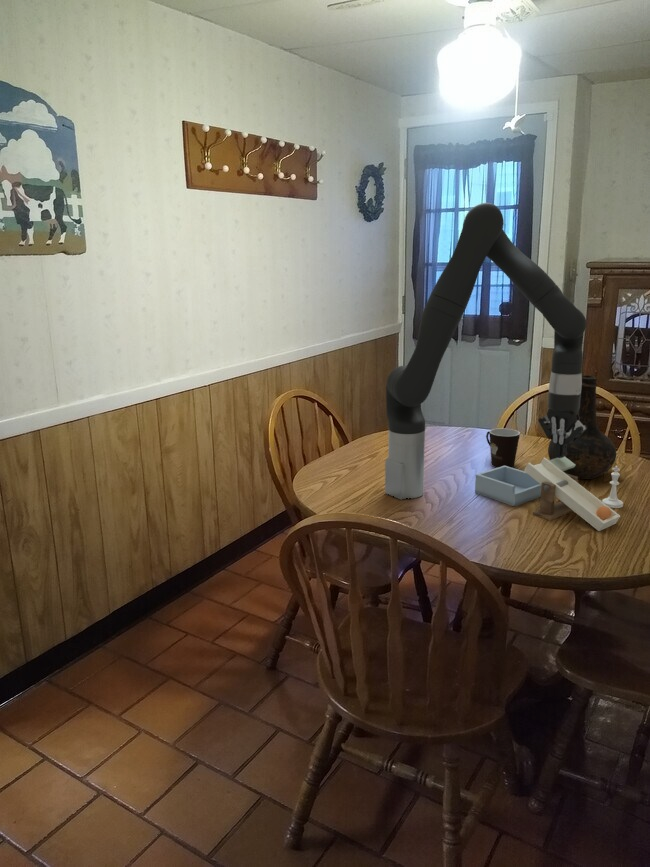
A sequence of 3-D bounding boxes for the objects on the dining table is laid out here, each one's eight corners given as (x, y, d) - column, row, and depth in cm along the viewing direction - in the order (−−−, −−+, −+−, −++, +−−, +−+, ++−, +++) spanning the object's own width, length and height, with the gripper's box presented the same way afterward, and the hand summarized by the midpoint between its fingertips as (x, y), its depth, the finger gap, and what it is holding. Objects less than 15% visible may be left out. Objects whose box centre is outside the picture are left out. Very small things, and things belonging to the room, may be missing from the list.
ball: (604, 524, 150) (608, 511, 148) (592, 517, 152) (595, 505, 151) (612, 520, 151) (615, 508, 150) (599, 514, 154) (603, 502, 152)
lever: (636, 514, 158) (641, 506, 157) (598, 531, 149) (603, 523, 148) (562, 458, 172) (566, 450, 170) (523, 470, 163) (527, 463, 161)
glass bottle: (600, 464, 195) (609, 369, 187) (624, 485, 177) (636, 382, 170) (538, 464, 195) (545, 370, 188) (557, 485, 178) (565, 382, 171)
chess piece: (605, 499, 168) (609, 461, 165) (625, 503, 165) (630, 465, 162) (598, 505, 164) (602, 466, 161) (619, 509, 161) (623, 470, 158)
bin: (514, 506, 164) (515, 487, 163) (474, 492, 174) (475, 474, 172) (543, 495, 171) (544, 477, 169) (503, 482, 180) (504, 465, 179)
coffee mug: (521, 469, 191) (523, 436, 188) (491, 469, 191) (492, 436, 188) (511, 457, 202) (513, 425, 199) (482, 457, 202) (484, 425, 200)
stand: (582, 507, 163) (585, 476, 161) (550, 520, 155) (552, 488, 153) (564, 501, 167) (566, 471, 164) (532, 514, 159) (534, 482, 157)
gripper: (532, 388, 167) (528, 454, 171) (580, 396, 157) (574, 466, 161) (550, 384, 171) (546, 448, 176) (598, 392, 161) (591, 460, 166)
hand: (559, 457), depth 169 cm, fingers closed
